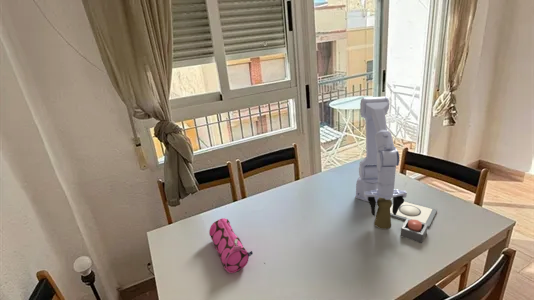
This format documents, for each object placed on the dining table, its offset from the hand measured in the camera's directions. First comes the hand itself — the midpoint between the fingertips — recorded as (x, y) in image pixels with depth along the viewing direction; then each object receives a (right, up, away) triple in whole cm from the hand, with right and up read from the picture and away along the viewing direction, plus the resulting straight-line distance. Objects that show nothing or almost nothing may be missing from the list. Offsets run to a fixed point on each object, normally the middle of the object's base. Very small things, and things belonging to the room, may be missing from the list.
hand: (383, 213), depth 115 cm
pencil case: (-57, -13, -6) cm, 58 cm away
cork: (0, -5, +2) cm, 5 cm away
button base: (+9, -6, -5) cm, 12 cm away
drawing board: (+13, -1, +7) cm, 15 cm away
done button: (+9, -4, -6) cm, 11 cm away
